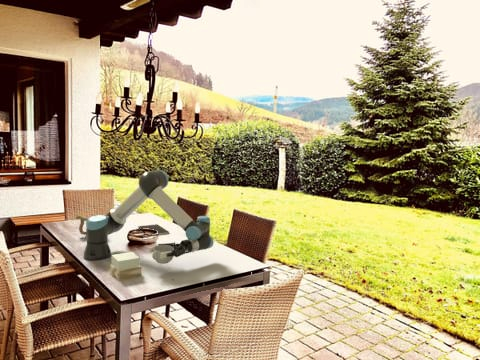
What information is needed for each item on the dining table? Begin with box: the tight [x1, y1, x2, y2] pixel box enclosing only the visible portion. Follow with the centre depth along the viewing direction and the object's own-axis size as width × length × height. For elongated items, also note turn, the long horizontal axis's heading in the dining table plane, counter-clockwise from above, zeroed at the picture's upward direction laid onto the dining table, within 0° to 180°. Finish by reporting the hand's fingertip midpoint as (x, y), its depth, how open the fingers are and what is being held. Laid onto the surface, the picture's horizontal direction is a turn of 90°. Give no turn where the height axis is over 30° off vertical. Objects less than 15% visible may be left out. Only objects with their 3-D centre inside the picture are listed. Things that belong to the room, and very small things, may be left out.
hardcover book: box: [137, 223, 170, 236], centre depth 288 cm, size 16×23×2 cm
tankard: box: [75, 215, 91, 239], centre depth 265 cm, size 20×13×15 cm, turn 84°
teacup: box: [151, 244, 174, 265], centre depth 206 cm, size 14×11×8 cm
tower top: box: [111, 251, 141, 271], centre depth 202 cm, size 11×11×5 cm
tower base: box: [109, 263, 143, 281], centre depth 202 cm, size 12×12×5 cm
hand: (154, 253), depth 203 cm, fingers closed on teacup, 11 cm apart
